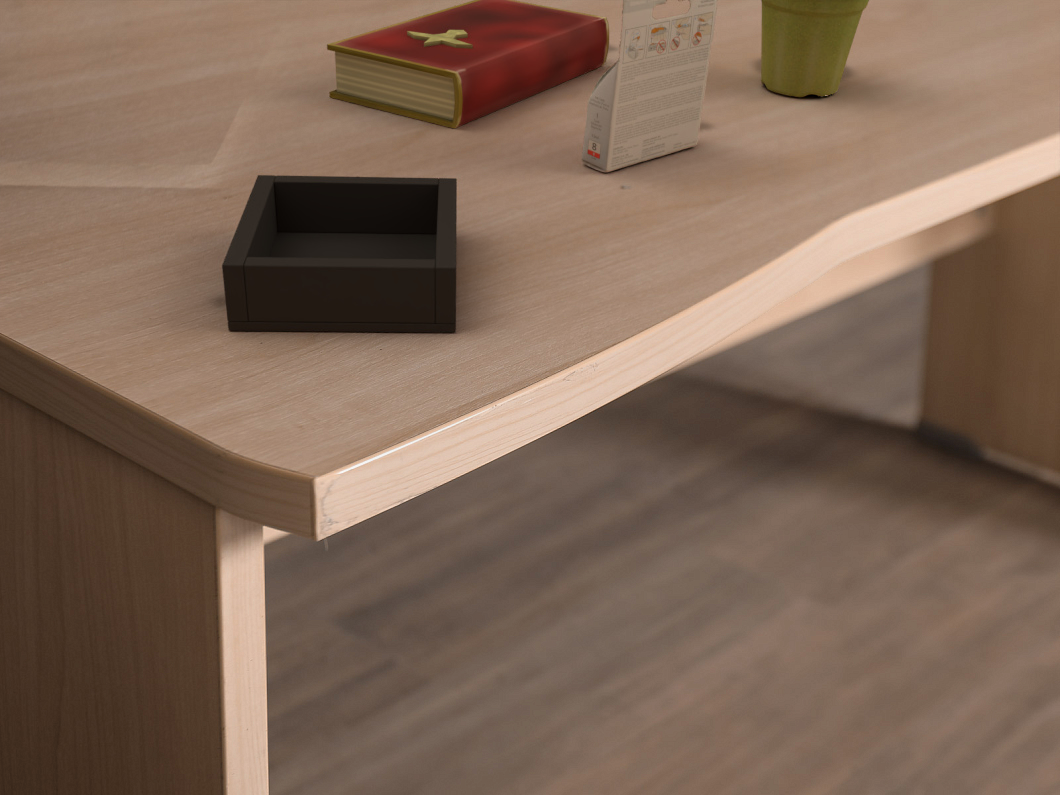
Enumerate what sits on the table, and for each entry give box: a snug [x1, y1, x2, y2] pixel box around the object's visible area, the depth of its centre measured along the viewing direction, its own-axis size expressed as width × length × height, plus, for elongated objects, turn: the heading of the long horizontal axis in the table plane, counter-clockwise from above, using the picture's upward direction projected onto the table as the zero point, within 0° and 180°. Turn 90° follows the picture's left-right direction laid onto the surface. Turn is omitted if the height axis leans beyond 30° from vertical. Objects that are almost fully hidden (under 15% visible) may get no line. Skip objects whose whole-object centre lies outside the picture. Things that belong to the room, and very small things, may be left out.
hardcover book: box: [326, 0, 610, 129], centre depth 96 cm, size 12×21×4 cm, turn 147°
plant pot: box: [760, 0, 870, 98], centre depth 97 cm, size 9×9×9 cm
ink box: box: [581, 0, 718, 173], centre depth 80 cm, size 3×9×12 cm, turn 132°
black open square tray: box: [221, 174, 458, 334], centre depth 64 cm, size 11×12×4 cm
